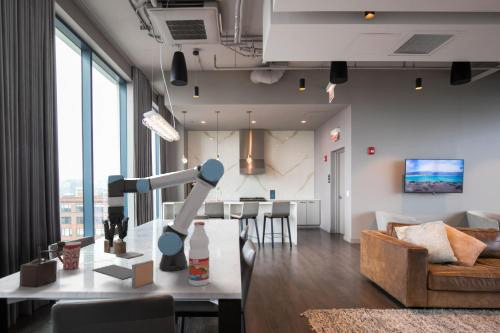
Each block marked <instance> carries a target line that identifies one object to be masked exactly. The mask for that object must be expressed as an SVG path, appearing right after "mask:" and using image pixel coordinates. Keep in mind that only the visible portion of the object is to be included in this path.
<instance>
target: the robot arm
mask: <svg viewBox="0 0 500 333" xmlns="http://www.w3.org/2000/svg"><path fill="white" fill-rule="evenodd" d="M224 174H225V167H224V164H223V163H222V162H221V161H220V160H219V159H216V158H209V159H206V160H205V161H204V162H203V163H202V164H199V165H195V167H192V168H188V169H184V170H179V171H174V172H168V173H164V174H158V175H154V176H153V175H152V176H149V177H137V178H136V177H135V178H134V177H133V178H132V177H131V178H125V175H124V174H110V175H108V177H107V218H106V219H103V220H102V224H103V232H104V240H109V247H110V253H109V254H111V255H115V231H116V228H117V233H118V238H117V241H124V240H125V237H126V238H127V236H128V227H129V226H128V225H129V220H130V217H129V216H126V215H125V214H124V213H125V194H144V193H149V192H150V191H155V190H160V189H165V188H169V187H174V186H179V185H184V184H189V183H190V184H191V183H194V182H195V183H194V185H193V187H192V188H191V190H190V192H189V194H188V195H187V197H186V199H185V200H184V202H183V204H182V206H181V207H180V209H179V211H178V213H176V216H175V217H174V219H173V221H172V222H168V224H167V225H164V226H163V227H162V234H161V235H160V236H159V238H158V240H157V247H158V250H159V252H160V253H162V256H161V258H160V262H159V263H158V266H159V267H158V269H159V270H161V271H163V272H164V271H165V272H169V271H170V272H173V271H181V270H184V269H186V268H187V267H188V261H187V260H188V259H187V256H186V253H185V241H186V239H187V238H188V236H189V228H190V227H191V225H192V223H193V221H194V220H195V218H196V216H197V214H198V213H199V211H200V209H201V208H202V205H203V204H204V203H205V201H206V199H207V197H208V195H209V193H210V192H211V190H214V189H216V187H217V185H218V183H219V182H220V180H221V179H222V178H223V176H224Z"/></svg>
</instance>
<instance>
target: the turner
mask: <svg viewBox="0 0 500 333" xmlns="http://www.w3.org/2000/svg"><path fill="white" fill-rule="evenodd" d="M114 240H115V239H114ZM103 252H104V253H105V254H110V247H109V240H105V239H104V241H103ZM114 255H115V258H120V259H125V260H132V259H134V258H135V259H136V258H139V257H143V256H144V253H140V252H135V251H127V241H124V240H123V241H117V240H115V254H114Z"/></svg>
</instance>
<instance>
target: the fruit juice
mask: <svg viewBox="0 0 500 333" xmlns="http://www.w3.org/2000/svg"><path fill="white" fill-rule="evenodd" d="M205 224H206V223H205V221H195V222H194V223H193V225H194V229H193V231H192V234H191V236H190V238H189V241H188V243H189V248H190V249H189V251H188V252H189V253H188V283H189V285H190V286H195V287H202V286H206V285H208V284H209V282H210V249H209V244H210V239H209V236H208V235H207V232H206V230H205Z"/></svg>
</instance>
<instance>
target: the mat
mask: <svg viewBox="0 0 500 333" xmlns="http://www.w3.org/2000/svg"><path fill="white" fill-rule="evenodd" d="M92 271H93V272H97V273H99V272H100V274H103V275H106V276H109V277H113V278H116V279H119V280H122V281H124V280H126V279H131V278H132V268H128V267H125V266H121V265H117V264H115V263H114V264H109V265H106V266H102V267H97V268H94V269H92Z"/></svg>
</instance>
